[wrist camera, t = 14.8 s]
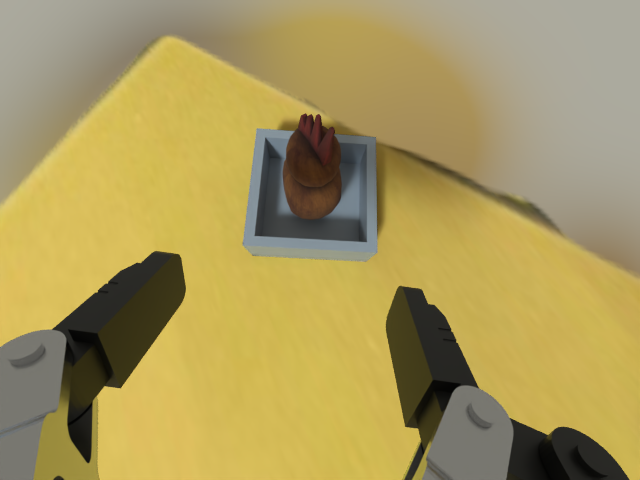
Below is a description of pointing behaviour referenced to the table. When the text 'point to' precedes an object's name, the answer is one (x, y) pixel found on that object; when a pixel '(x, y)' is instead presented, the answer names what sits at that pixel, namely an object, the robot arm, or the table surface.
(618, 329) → the table surface
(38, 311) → the table surface
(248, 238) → the slate tray
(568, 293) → the table surface
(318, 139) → the wooden figurine
